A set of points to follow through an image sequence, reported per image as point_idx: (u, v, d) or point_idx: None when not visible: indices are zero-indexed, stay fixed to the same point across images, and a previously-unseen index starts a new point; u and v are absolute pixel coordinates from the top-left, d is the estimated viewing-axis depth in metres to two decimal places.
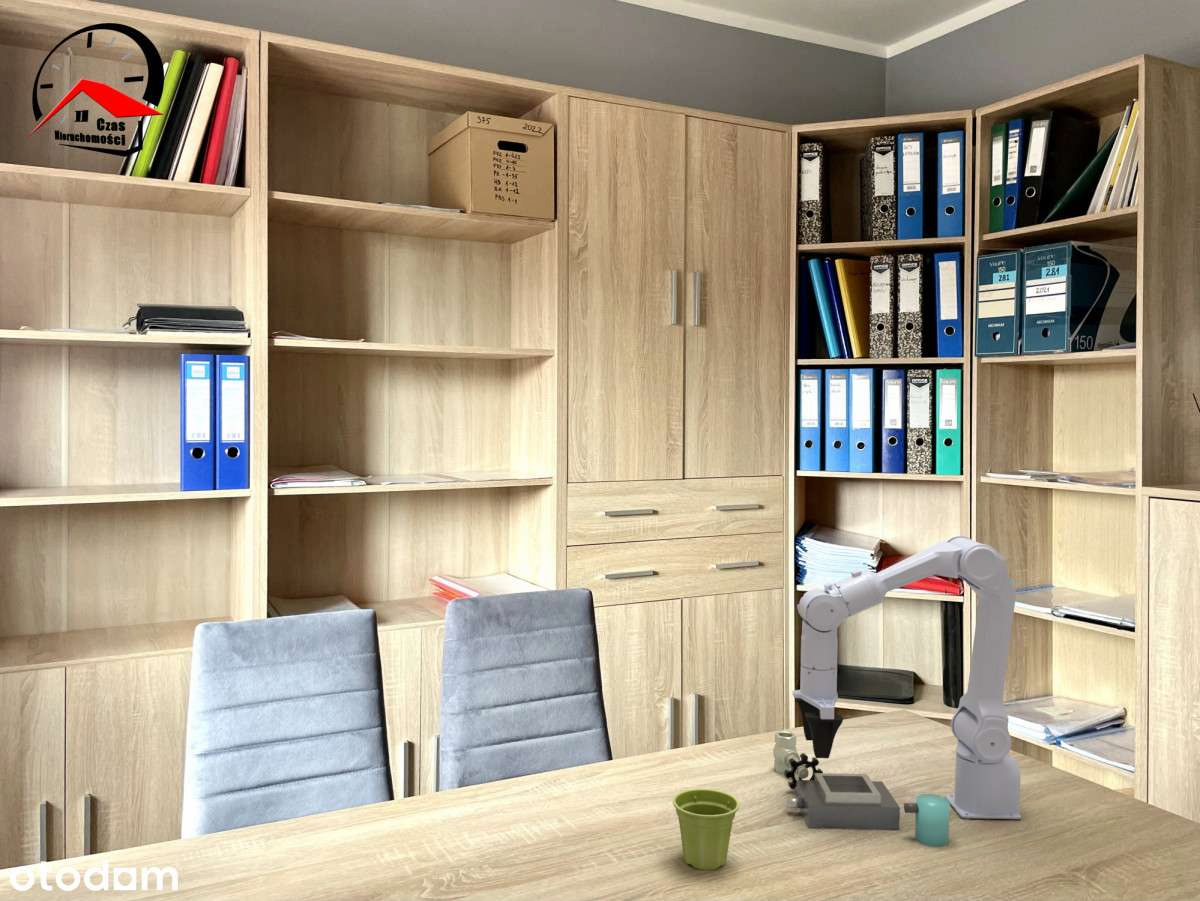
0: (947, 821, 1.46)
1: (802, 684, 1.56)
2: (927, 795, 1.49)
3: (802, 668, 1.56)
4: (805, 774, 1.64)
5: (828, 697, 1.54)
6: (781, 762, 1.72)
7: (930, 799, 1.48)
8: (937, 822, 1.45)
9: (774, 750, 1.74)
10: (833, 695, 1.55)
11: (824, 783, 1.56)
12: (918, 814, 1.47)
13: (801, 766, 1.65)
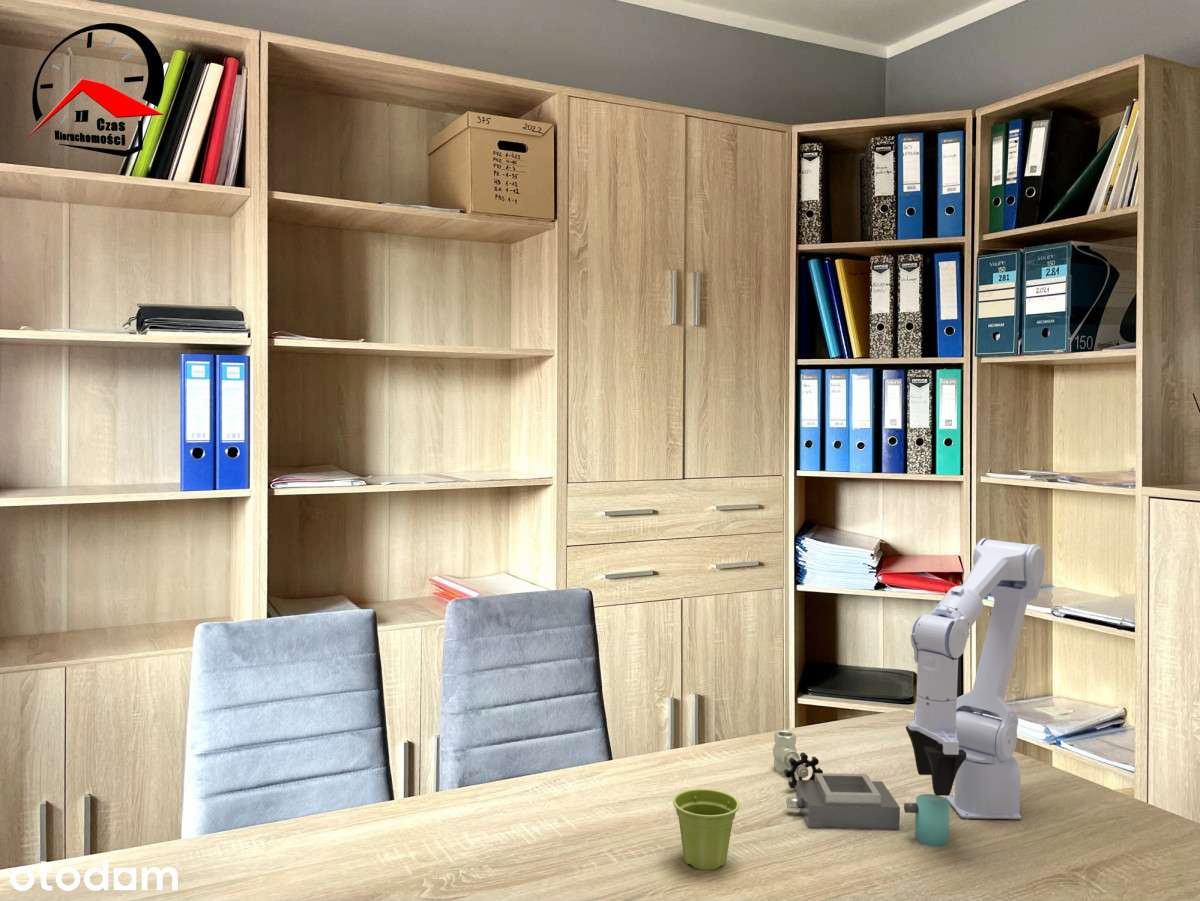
0: (947, 821, 1.46)
1: (919, 715, 1.46)
2: (927, 795, 1.49)
3: (919, 698, 1.46)
4: (805, 773, 1.65)
5: (948, 730, 1.44)
6: (781, 761, 1.73)
7: (930, 799, 1.48)
8: (937, 822, 1.45)
9: (774, 749, 1.74)
10: (953, 728, 1.45)
11: (824, 783, 1.56)
12: (918, 814, 1.47)
13: (801, 765, 1.66)
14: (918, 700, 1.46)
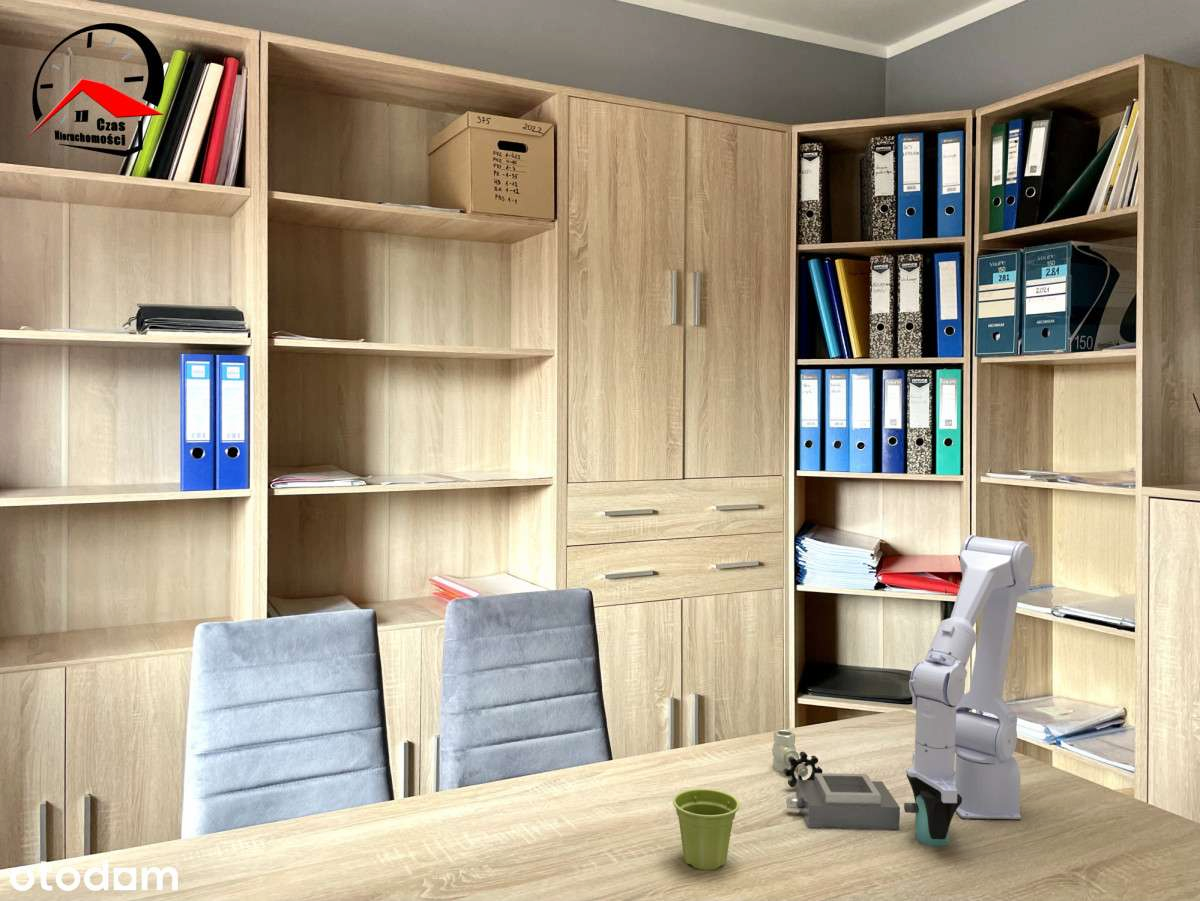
0: None
1: (917, 762, 1.46)
2: None
3: (918, 745, 1.46)
4: (805, 772, 1.65)
5: (947, 777, 1.45)
6: (780, 760, 1.73)
7: None
8: None
9: (773, 748, 1.74)
10: (951, 774, 1.45)
11: (824, 783, 1.56)
12: (918, 813, 1.47)
13: (800, 764, 1.66)
14: (916, 746, 1.47)
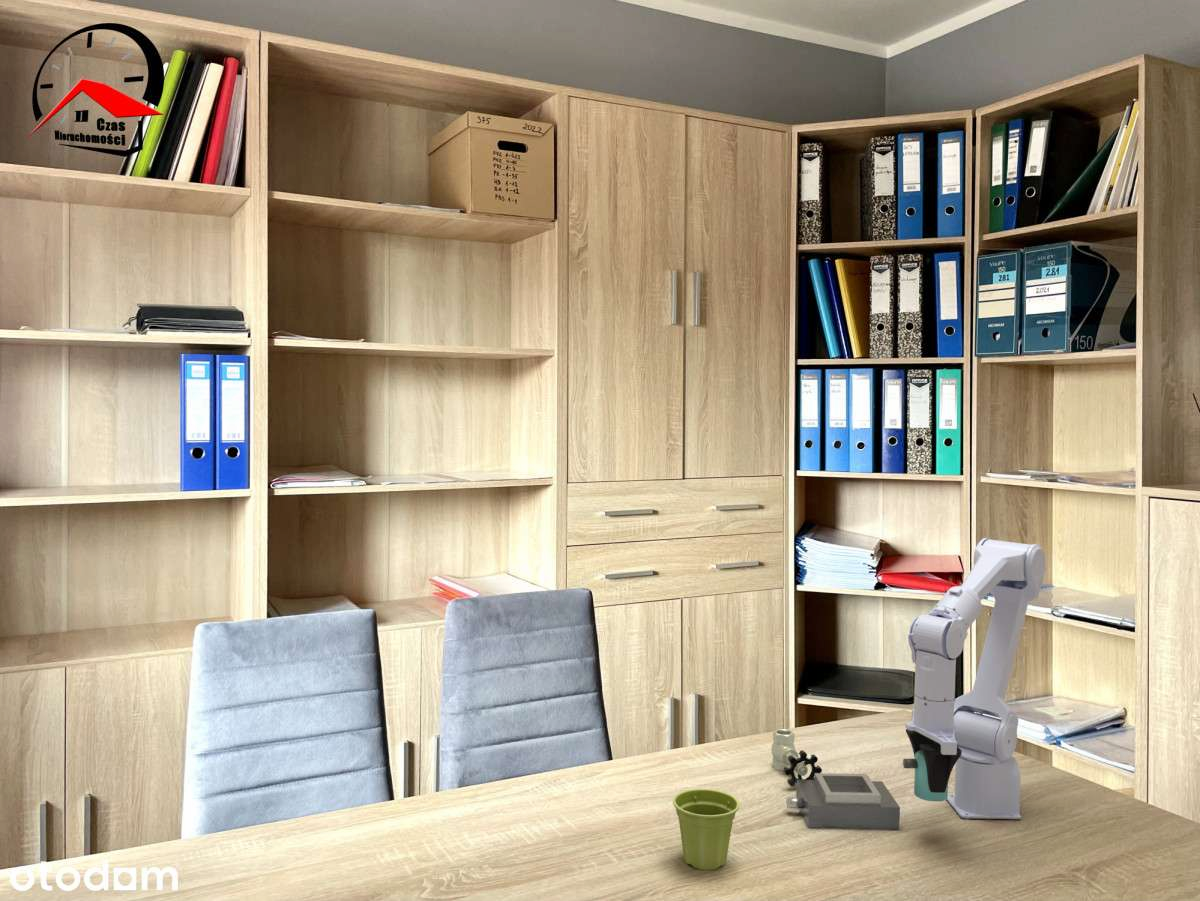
0: None
1: (917, 716, 1.46)
2: None
3: (917, 699, 1.46)
4: (804, 771, 1.65)
5: (946, 730, 1.44)
6: (779, 759, 1.74)
7: None
8: None
9: (772, 748, 1.75)
10: (951, 728, 1.45)
11: (824, 783, 1.56)
12: (917, 769, 1.47)
13: (800, 763, 1.67)
14: (916, 700, 1.46)
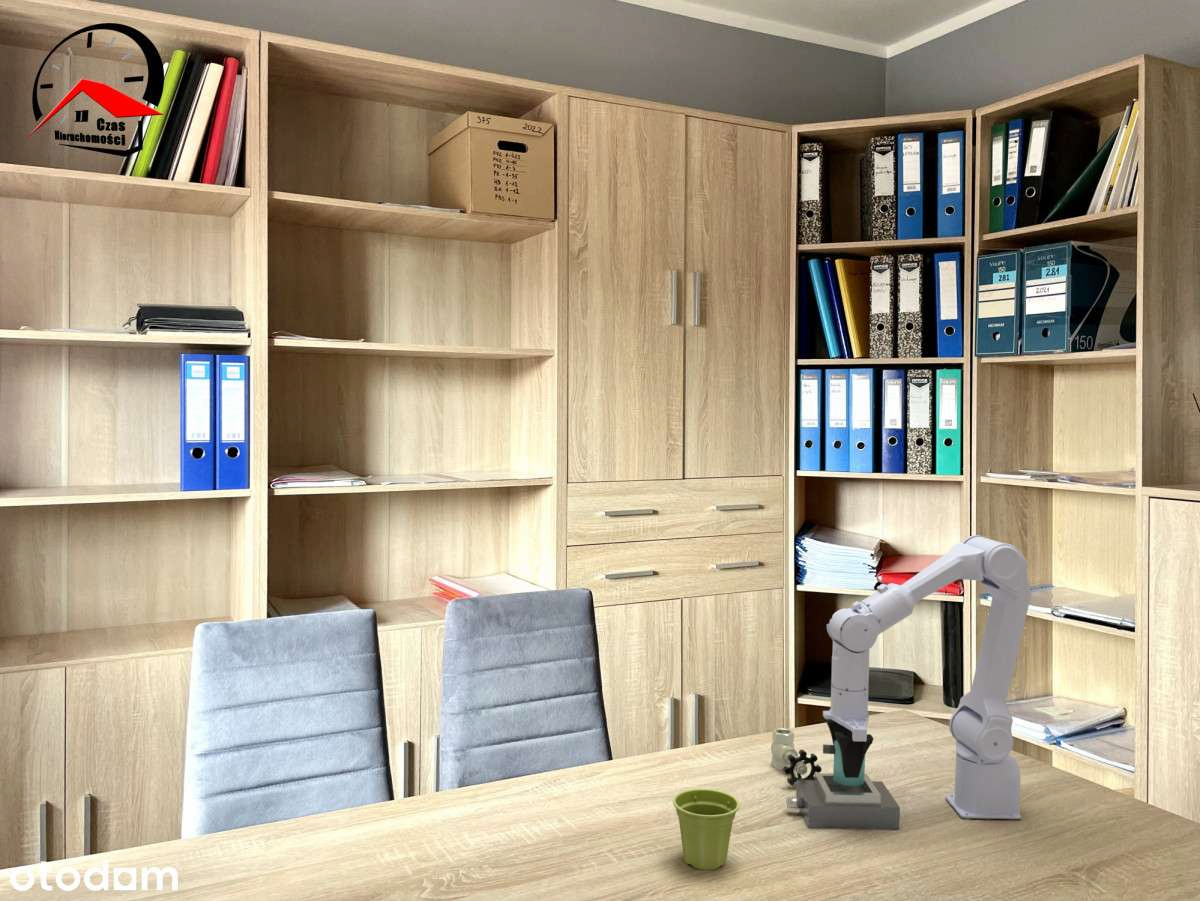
0: None
1: (833, 705, 1.54)
2: None
3: (833, 689, 1.54)
4: (804, 770, 1.66)
5: (859, 718, 1.52)
6: (779, 759, 1.74)
7: None
8: None
9: (772, 747, 1.75)
10: (864, 716, 1.53)
11: (824, 783, 1.56)
12: (835, 755, 1.55)
13: (800, 762, 1.67)
14: (832, 690, 1.54)
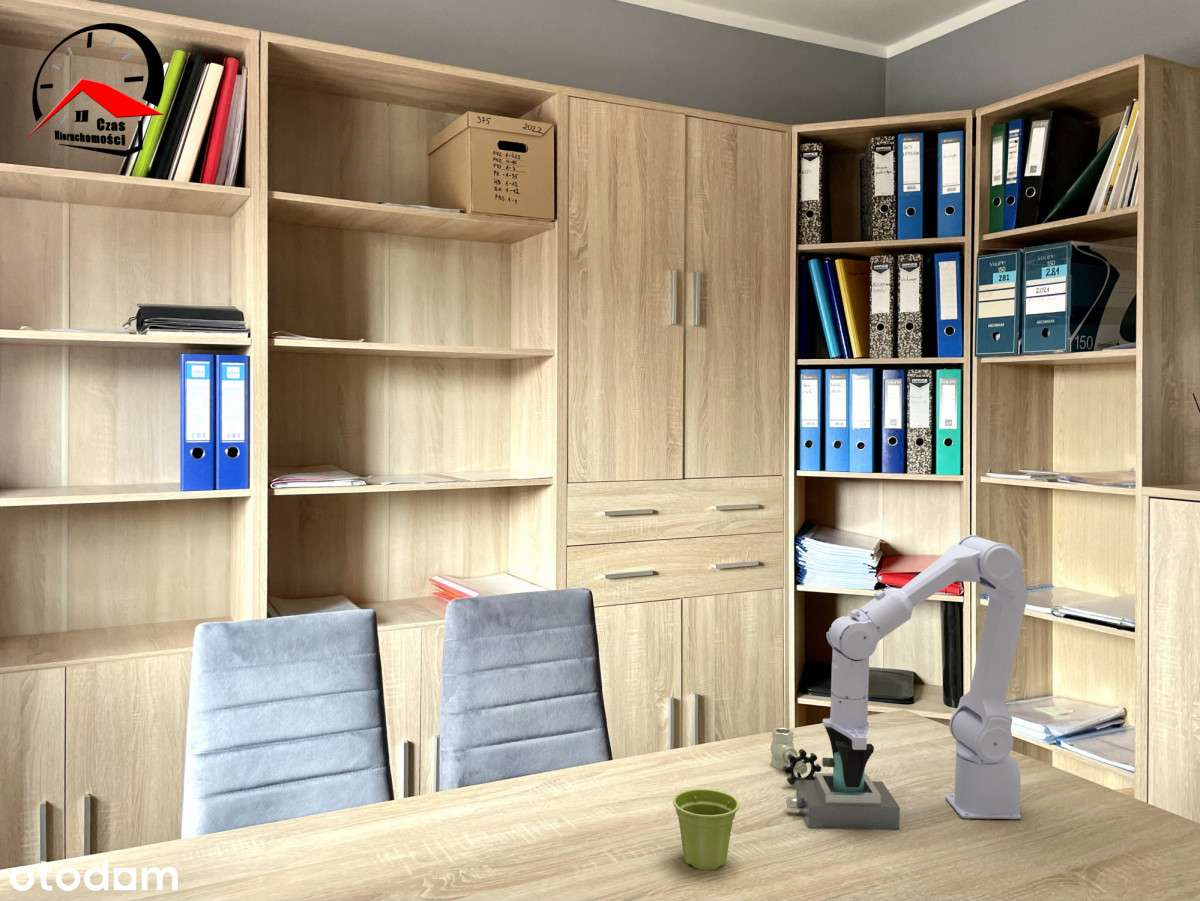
0: None
1: (833, 713, 1.54)
2: None
3: (833, 697, 1.54)
4: (804, 770, 1.66)
5: (859, 726, 1.52)
6: (779, 758, 1.74)
7: None
8: None
9: (771, 746, 1.75)
10: (864, 724, 1.53)
11: (824, 783, 1.56)
12: (834, 768, 1.55)
13: (800, 762, 1.67)
14: (832, 698, 1.54)
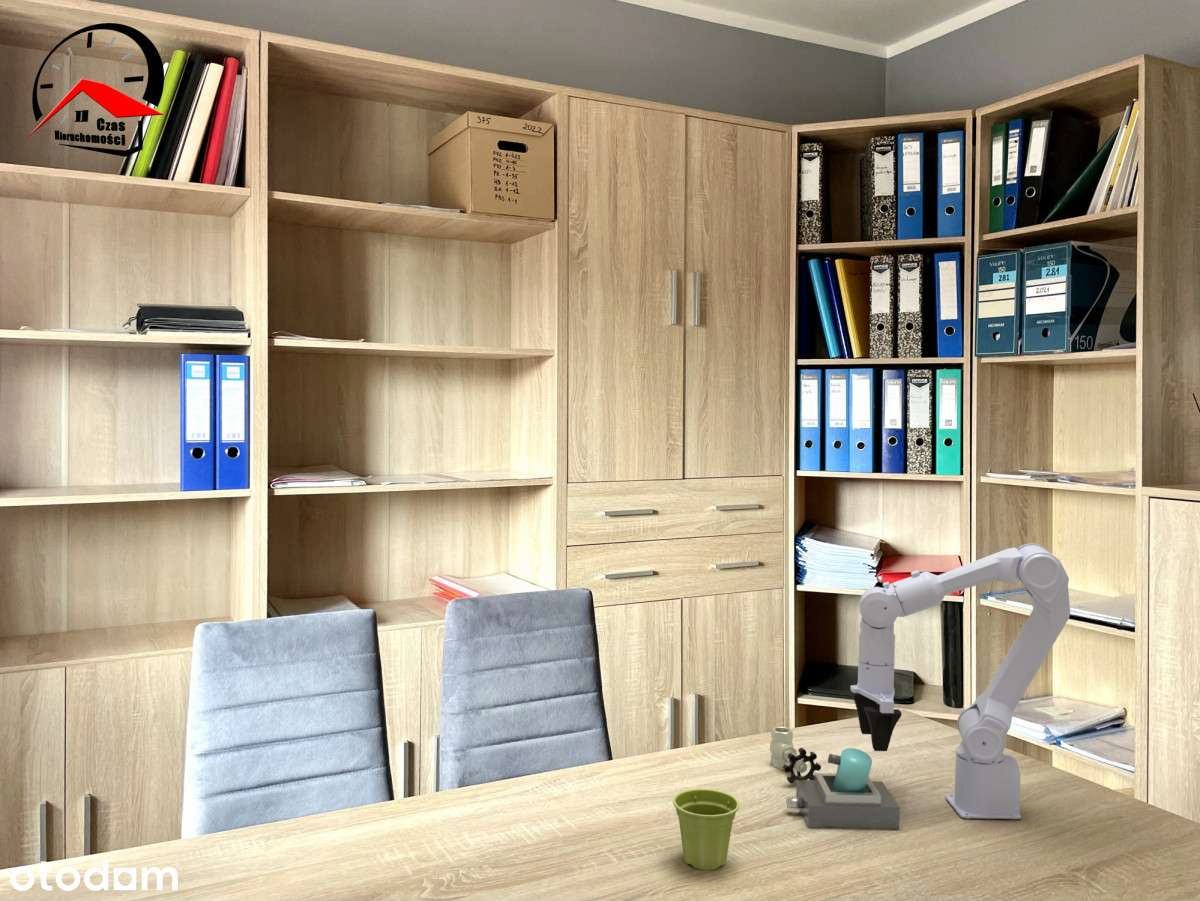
0: (864, 779, 1.53)
1: (860, 679, 1.61)
2: (854, 750, 1.55)
3: (860, 664, 1.61)
4: (803, 768, 1.67)
5: (886, 692, 1.59)
6: (778, 757, 1.75)
7: (855, 756, 1.54)
8: (854, 779, 1.52)
9: (771, 745, 1.76)
10: (891, 690, 1.60)
11: (824, 783, 1.56)
12: (839, 766, 1.54)
13: (799, 760, 1.68)
14: (859, 665, 1.61)
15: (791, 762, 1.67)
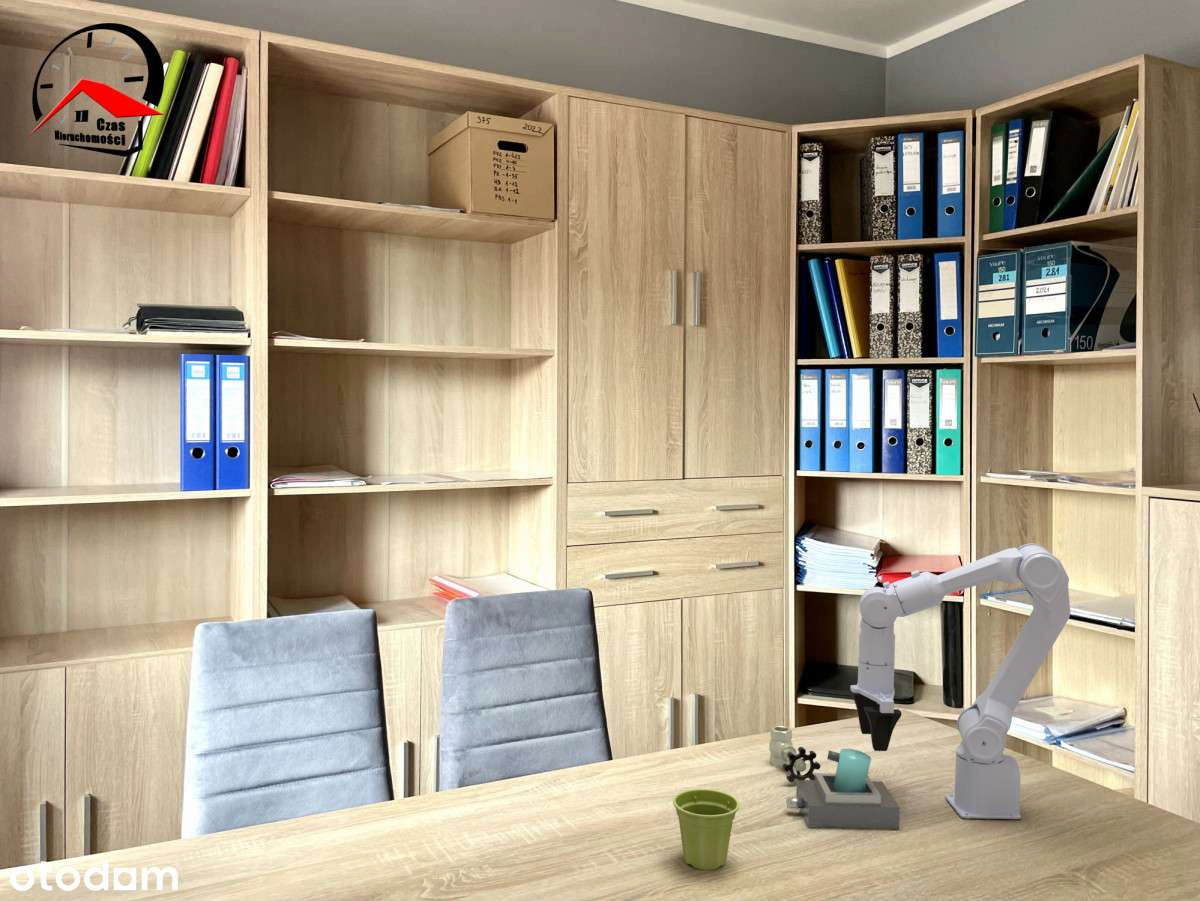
0: (862, 776, 1.53)
1: (860, 679, 1.61)
2: (855, 750, 1.57)
3: (860, 664, 1.61)
4: (803, 767, 1.67)
5: (886, 692, 1.59)
6: (777, 756, 1.75)
7: (854, 753, 1.56)
8: (851, 773, 1.53)
9: (770, 744, 1.76)
10: (891, 690, 1.60)
11: (824, 783, 1.56)
12: (838, 763, 1.56)
13: (799, 759, 1.68)
14: (859, 665, 1.61)
15: (791, 761, 1.67)
